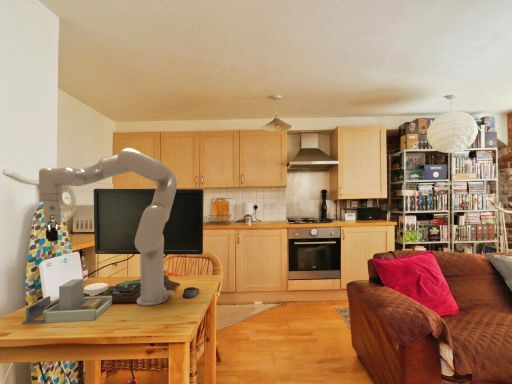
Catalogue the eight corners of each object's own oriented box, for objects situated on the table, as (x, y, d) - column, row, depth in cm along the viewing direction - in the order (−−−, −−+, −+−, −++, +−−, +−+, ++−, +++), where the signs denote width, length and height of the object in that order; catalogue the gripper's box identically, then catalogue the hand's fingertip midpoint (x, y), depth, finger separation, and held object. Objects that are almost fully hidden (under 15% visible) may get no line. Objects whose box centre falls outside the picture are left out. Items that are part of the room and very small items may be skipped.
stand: (69, 306, 116) (69, 294, 116) (44, 323, 100) (44, 309, 100) (50, 307, 115) (50, 294, 115) (22, 324, 99) (22, 310, 100)
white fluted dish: (99, 288, 138) (99, 281, 138) (112, 291, 134) (112, 284, 134) (79, 295, 129) (79, 287, 129) (92, 298, 125) (92, 290, 125)
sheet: (83, 308, 113) (83, 278, 113) (70, 318, 104) (70, 286, 104) (73, 308, 113) (72, 279, 113) (59, 318, 104) (59, 286, 104)
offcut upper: (101, 304, 113) (101, 298, 113) (92, 311, 106) (92, 305, 106) (90, 304, 112) (90, 299, 112) (81, 312, 105) (81, 306, 105)
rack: (112, 304, 117) (112, 294, 117) (94, 320, 102) (94, 309, 102) (67, 306, 115) (67, 296, 115) (42, 322, 100) (42, 311, 100)
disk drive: (132, 296, 127) (144, 285, 142) (132, 290, 127) (144, 280, 142) (109, 296, 127) (124, 286, 142) (109, 290, 127) (124, 280, 142)
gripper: (64, 197, 110) (65, 241, 110) (59, 198, 123) (60, 236, 123) (40, 198, 105) (41, 243, 105) (38, 198, 118) (39, 238, 118)
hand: (51, 239), depth 114 cm, fingers open, 9 cm apart
